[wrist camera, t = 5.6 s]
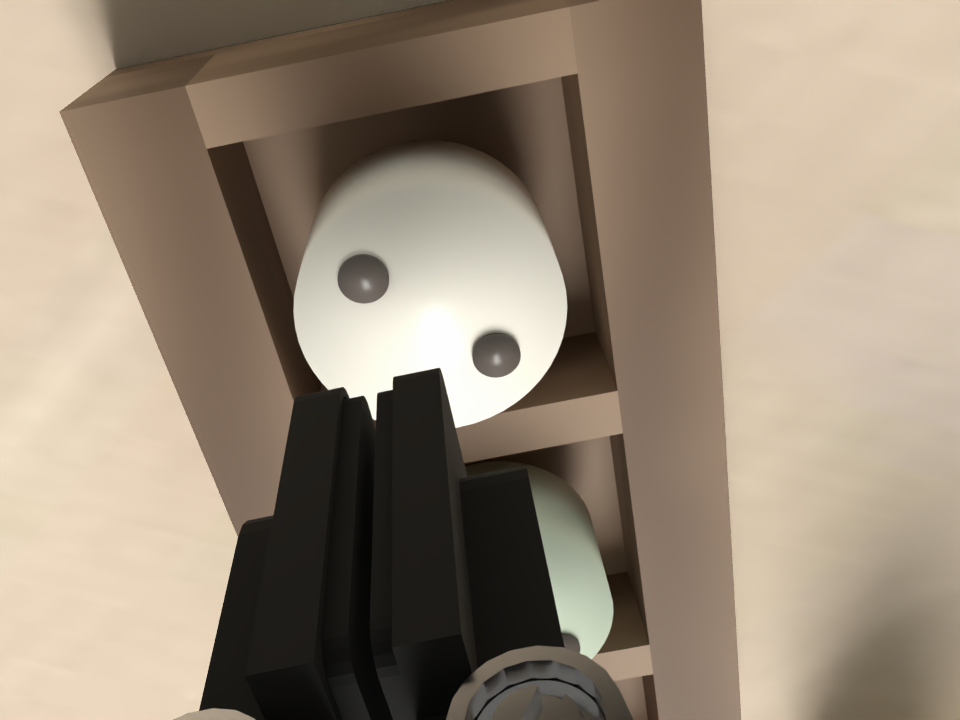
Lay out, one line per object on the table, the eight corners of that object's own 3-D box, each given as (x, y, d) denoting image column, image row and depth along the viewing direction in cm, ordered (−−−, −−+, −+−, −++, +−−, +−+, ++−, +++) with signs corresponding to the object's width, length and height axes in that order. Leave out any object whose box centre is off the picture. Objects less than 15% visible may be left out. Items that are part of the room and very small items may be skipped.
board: (653, -42, 16) (700, -20, 14) (715, 739, 27) (747, 834, 25) (115, 69, 16) (59, 111, 14) (390, 796, 27) (388, 895, 25)
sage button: (579, 444, 19) (601, 521, 17) (603, 594, 21) (624, 680, 19) (375, 482, 19) (370, 564, 17) (419, 627, 21) (420, 716, 19)
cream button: (528, 116, 15) (547, 161, 13) (562, 338, 18) (584, 406, 15) (278, 167, 16) (256, 219, 13) (343, 380, 18) (334, 454, 16)
